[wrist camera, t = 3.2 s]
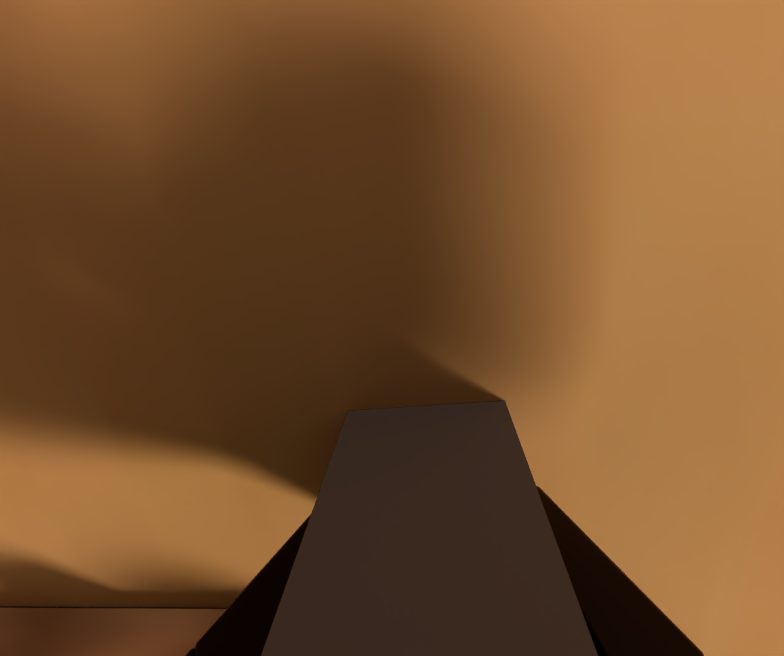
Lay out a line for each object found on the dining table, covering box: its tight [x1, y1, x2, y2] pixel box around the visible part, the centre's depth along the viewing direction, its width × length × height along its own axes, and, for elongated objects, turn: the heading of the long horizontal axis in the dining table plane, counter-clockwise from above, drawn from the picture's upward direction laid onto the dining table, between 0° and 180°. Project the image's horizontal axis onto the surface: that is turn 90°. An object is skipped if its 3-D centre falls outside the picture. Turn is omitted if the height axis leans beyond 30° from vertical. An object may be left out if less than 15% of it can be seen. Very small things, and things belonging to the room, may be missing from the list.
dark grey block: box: [261, 401, 598, 656], centre depth 6 cm, size 4×4×5 cm
